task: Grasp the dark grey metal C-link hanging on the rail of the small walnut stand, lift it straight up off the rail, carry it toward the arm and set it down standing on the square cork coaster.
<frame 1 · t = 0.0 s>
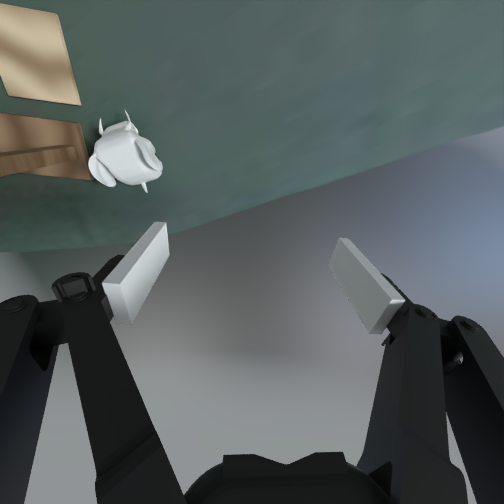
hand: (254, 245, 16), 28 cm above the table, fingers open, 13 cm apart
cork coaster: (33, 58, 30), on the table
elephant figurine: (140, 152, 37), on the table
stand: (25, 145, 35), on the table
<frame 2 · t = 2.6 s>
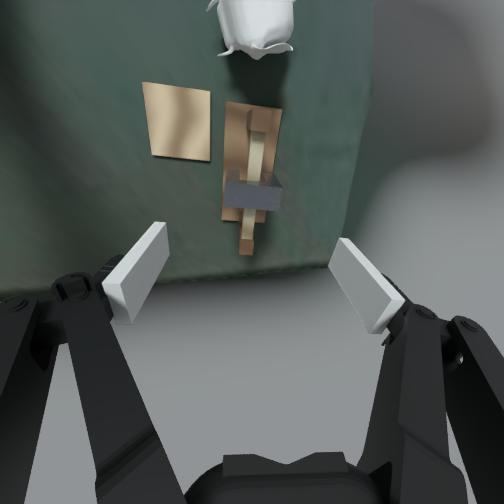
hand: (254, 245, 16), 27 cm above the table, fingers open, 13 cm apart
cork coaster: (180, 125, 34), on the table
elephant figurine: (254, 26, 29), on the table
stand: (247, 170, 39), on the table
c link: (249, 181, 32), point 8 cm above the table, touching stand
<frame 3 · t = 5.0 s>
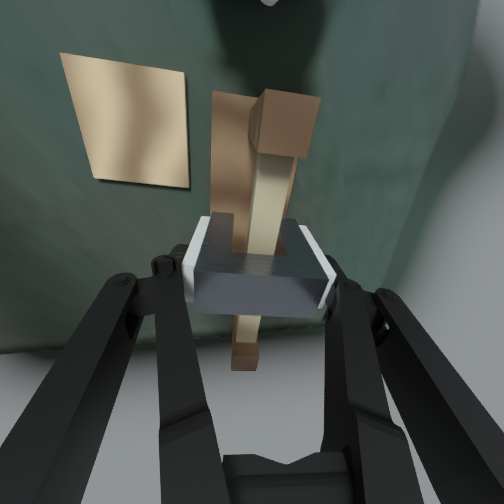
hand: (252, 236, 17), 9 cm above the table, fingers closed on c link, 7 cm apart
cork coaster: (136, 130, 20), on the table
stand: (249, 201, 25), on the table
c link: (252, 231, 18), point 8 cm above the table, touching gripper, stand
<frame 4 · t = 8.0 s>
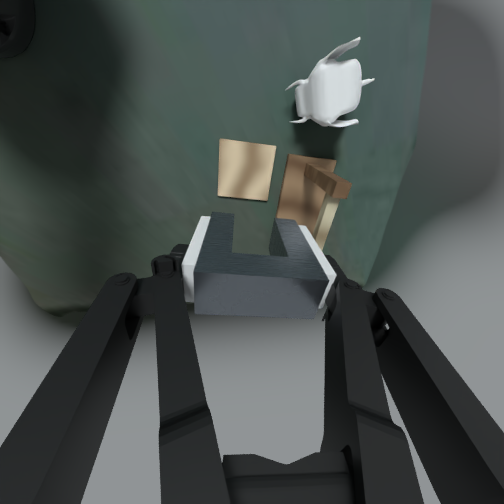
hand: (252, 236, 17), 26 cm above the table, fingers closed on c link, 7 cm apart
cork coaster: (245, 171, 39), on the table
elephant figurine: (319, 96, 34), on the table
stand: (298, 207, 44), on the table
c link: (252, 231, 18), point 25 cm above the table, touching gripper
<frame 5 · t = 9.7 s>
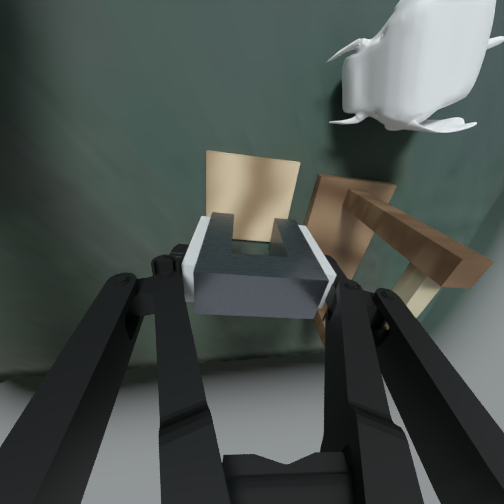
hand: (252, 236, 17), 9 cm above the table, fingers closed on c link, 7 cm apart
cork coaster: (249, 201, 25), on the table
elephant figurine: (380, 78, 19), on the table
stand: (328, 250, 29), on the table
c link: (252, 232, 18), point 8 cm above the table, touching gripper
when the fingers open (3 cm above the table, at t = 11.3 s): c link drops 2 cm, resting on cork coaster.
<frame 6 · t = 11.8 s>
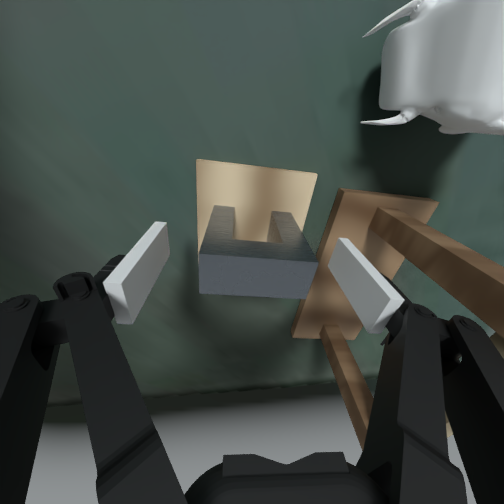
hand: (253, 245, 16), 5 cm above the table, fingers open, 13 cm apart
cork coaster: (251, 221, 20), on the table
elephant figurine: (428, 63, 14), on the table
stand: (346, 277, 24), on the table
c link: (251, 224, 19), point 1 cm above the table, touching cork coaster
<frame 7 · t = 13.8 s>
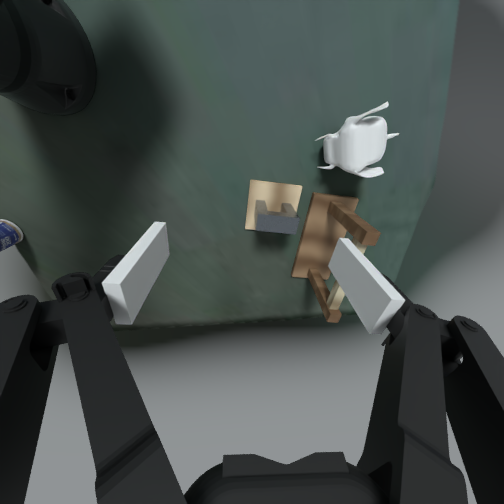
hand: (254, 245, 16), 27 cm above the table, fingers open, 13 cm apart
pill bottle: (10, 230, 43), on the table
cork coaster: (271, 207, 42), on the table
elephant figurine: (344, 143, 36), on the table
stand: (320, 239, 46), on the table
c link: (272, 208, 41), point 1 cm above the table, touching cork coaster
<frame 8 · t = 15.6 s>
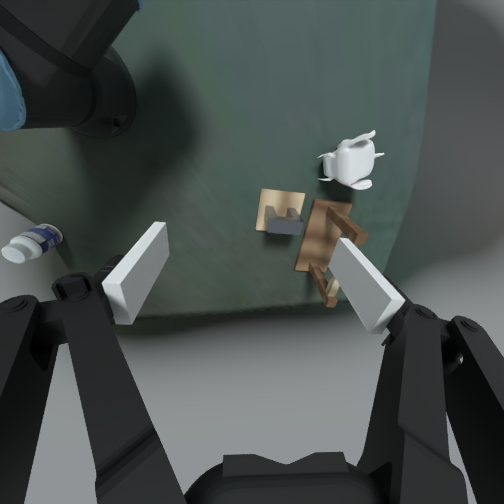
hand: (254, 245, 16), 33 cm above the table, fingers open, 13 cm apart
pill bottle: (51, 232, 50), on the table
cork coaster: (279, 211, 49), on the table
elephant figurine: (340, 158, 44), on the table
stand: (319, 237, 53), on the table
c link: (279, 212, 49), point 1 cm above the table, touching cork coaster
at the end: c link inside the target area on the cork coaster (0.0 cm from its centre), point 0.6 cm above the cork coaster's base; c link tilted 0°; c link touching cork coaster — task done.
